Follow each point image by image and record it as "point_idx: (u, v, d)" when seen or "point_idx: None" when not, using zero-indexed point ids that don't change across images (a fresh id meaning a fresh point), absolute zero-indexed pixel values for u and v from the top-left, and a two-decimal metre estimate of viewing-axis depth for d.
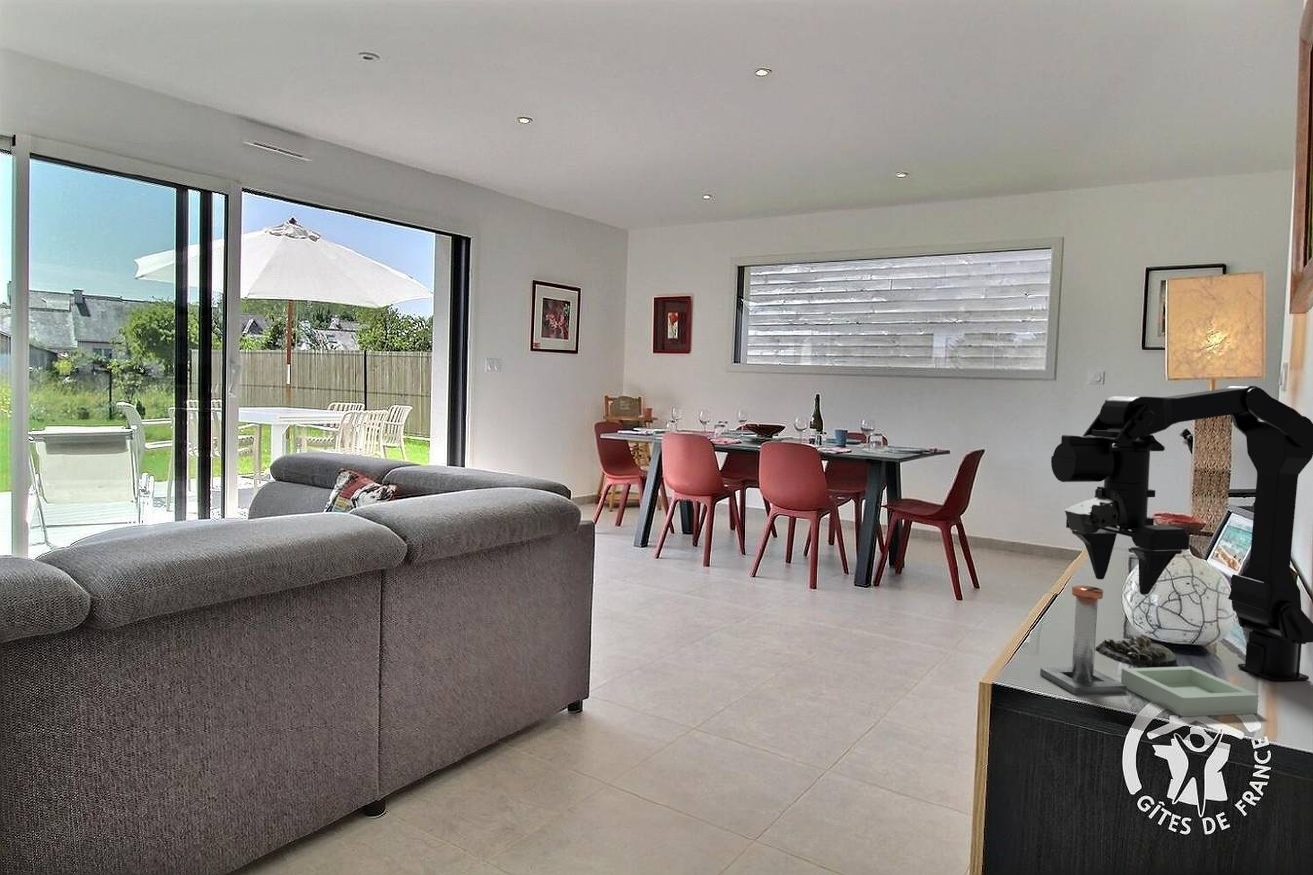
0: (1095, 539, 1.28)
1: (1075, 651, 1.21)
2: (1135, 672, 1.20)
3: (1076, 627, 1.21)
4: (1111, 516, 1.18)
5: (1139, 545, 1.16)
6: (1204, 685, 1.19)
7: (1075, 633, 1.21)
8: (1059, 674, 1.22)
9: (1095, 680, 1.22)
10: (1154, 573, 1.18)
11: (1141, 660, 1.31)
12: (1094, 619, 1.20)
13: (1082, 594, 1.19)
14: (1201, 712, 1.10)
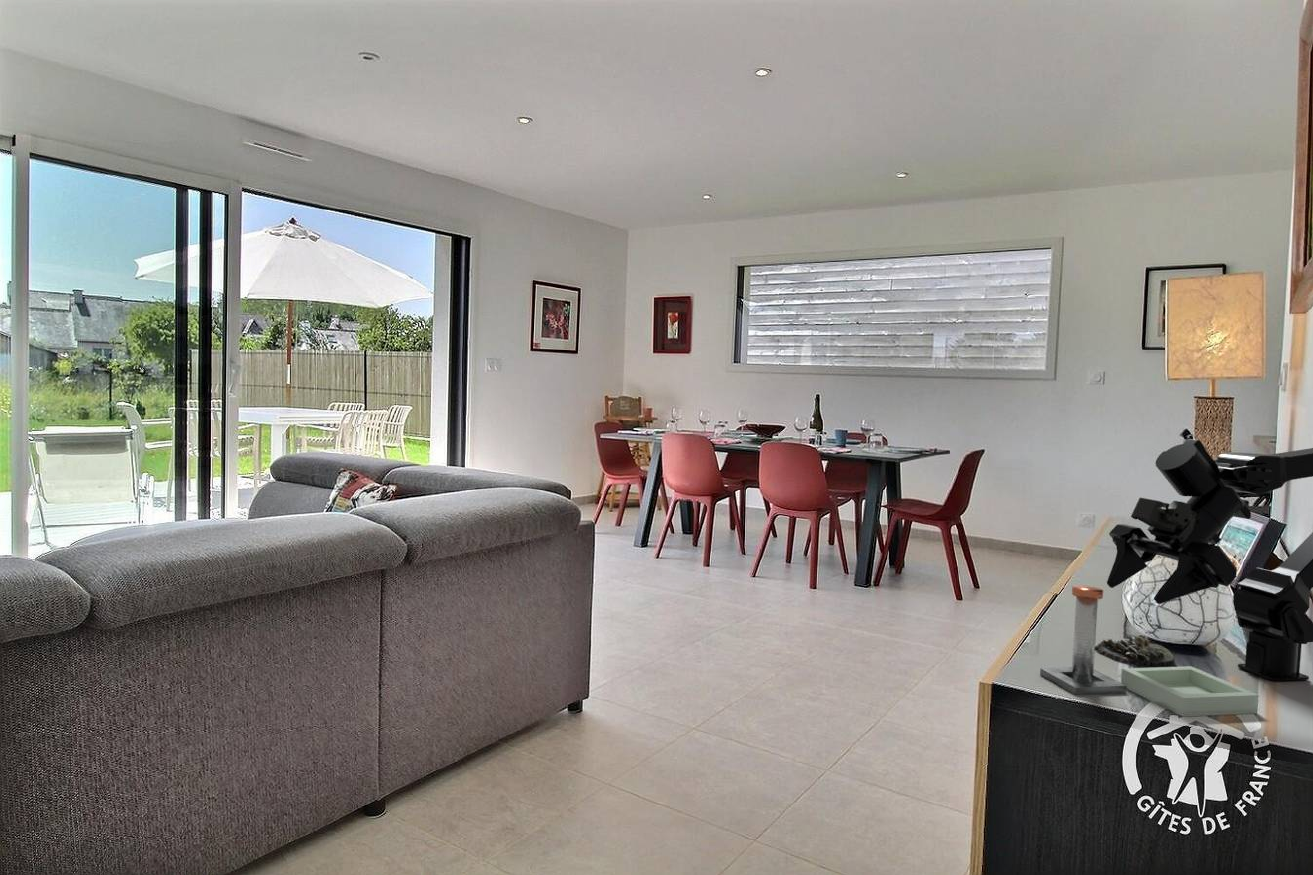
0: (1130, 553, 1.28)
1: (1075, 651, 1.21)
2: (1135, 672, 1.20)
3: (1076, 627, 1.21)
4: (1184, 517, 1.18)
5: (1192, 551, 1.16)
6: (1204, 685, 1.19)
7: (1075, 633, 1.21)
8: (1059, 674, 1.22)
9: (1095, 680, 1.22)
10: (1179, 589, 1.17)
11: (1139, 660, 1.31)
12: (1094, 619, 1.20)
13: (1082, 594, 1.19)
14: (1201, 712, 1.10)
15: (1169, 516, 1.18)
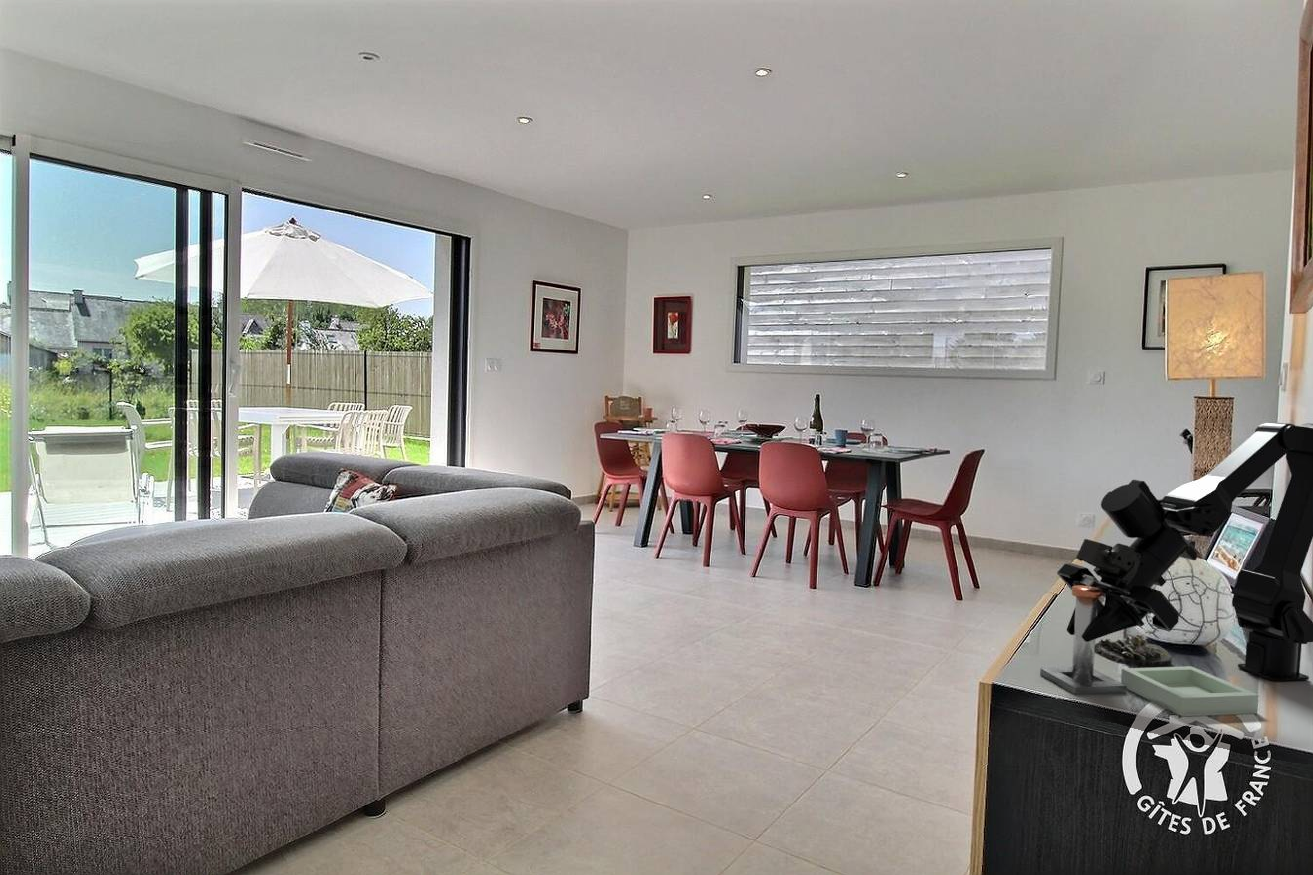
0: None
1: (1075, 651, 1.21)
2: (1135, 672, 1.20)
3: (1076, 627, 1.21)
4: (1127, 561, 1.17)
5: (1134, 596, 1.14)
6: (1204, 685, 1.19)
7: (1075, 633, 1.21)
8: (1059, 674, 1.22)
9: (1095, 680, 1.22)
10: (1106, 627, 1.19)
11: (1135, 659, 1.31)
12: None
13: (1082, 594, 1.19)
14: (1201, 712, 1.10)
15: (1112, 559, 1.17)
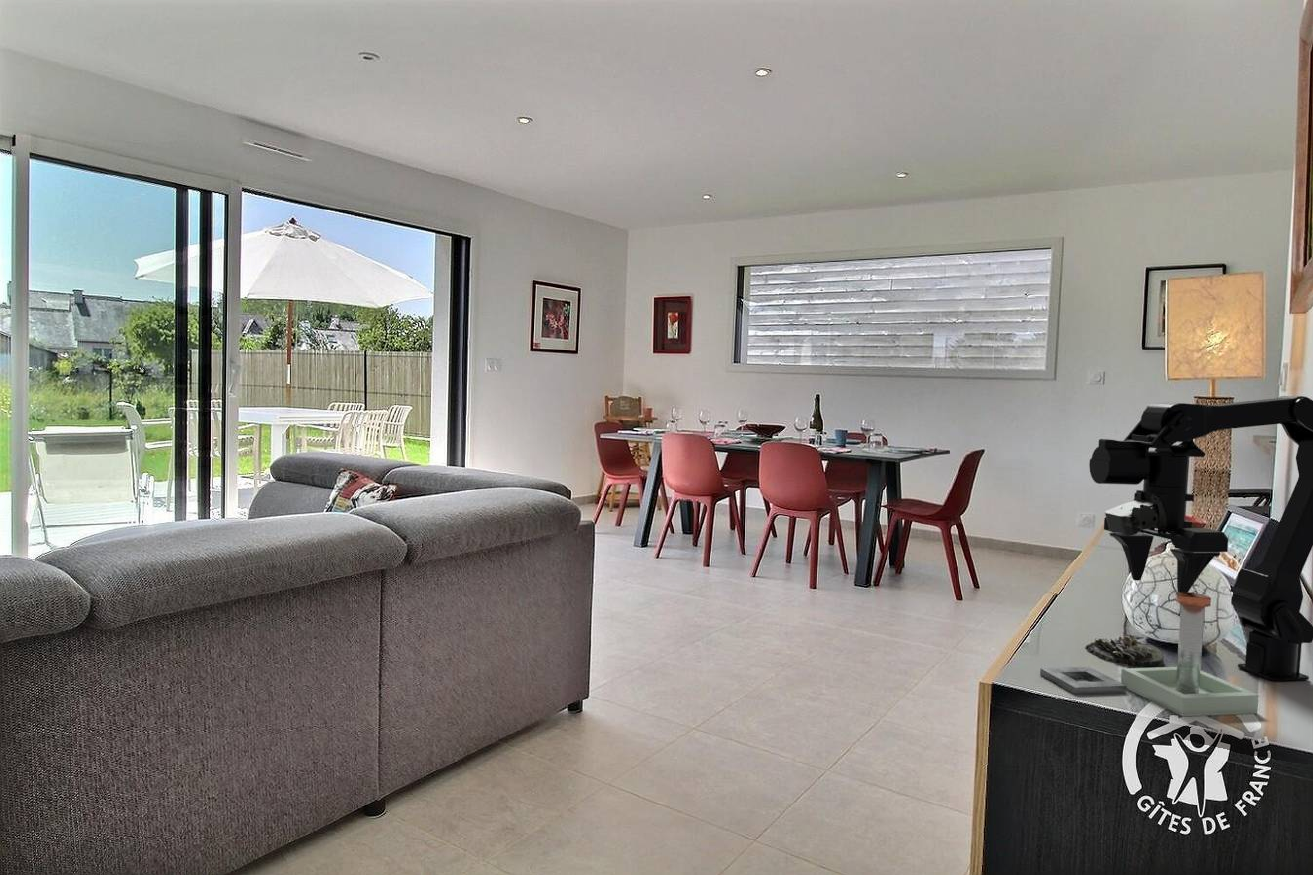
0: (1132, 541, 1.32)
1: (1183, 662, 1.16)
2: (1135, 672, 1.20)
3: (1185, 637, 1.15)
4: (1151, 518, 1.21)
5: (1179, 547, 1.19)
6: (1204, 685, 1.19)
7: (1183, 643, 1.16)
8: (1059, 674, 1.22)
9: (1095, 680, 1.22)
10: (1192, 574, 1.21)
11: (1125, 659, 1.31)
12: (1203, 627, 1.15)
13: (1194, 602, 1.14)
14: (1201, 712, 1.10)
15: (1139, 527, 1.22)
